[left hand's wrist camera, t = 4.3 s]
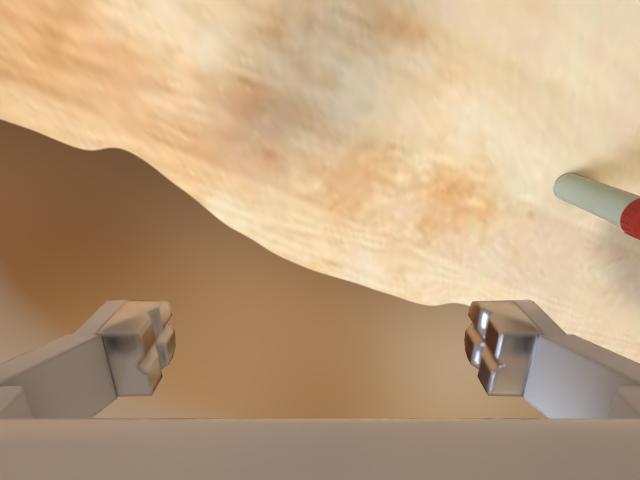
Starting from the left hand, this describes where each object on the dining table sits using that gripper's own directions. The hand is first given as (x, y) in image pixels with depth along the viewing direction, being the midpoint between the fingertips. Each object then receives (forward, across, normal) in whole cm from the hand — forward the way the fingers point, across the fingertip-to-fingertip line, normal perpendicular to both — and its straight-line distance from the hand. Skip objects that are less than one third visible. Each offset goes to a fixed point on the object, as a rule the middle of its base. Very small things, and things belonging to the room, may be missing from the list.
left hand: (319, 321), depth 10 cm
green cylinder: (+48, -38, +8) cm, 61 cm away
